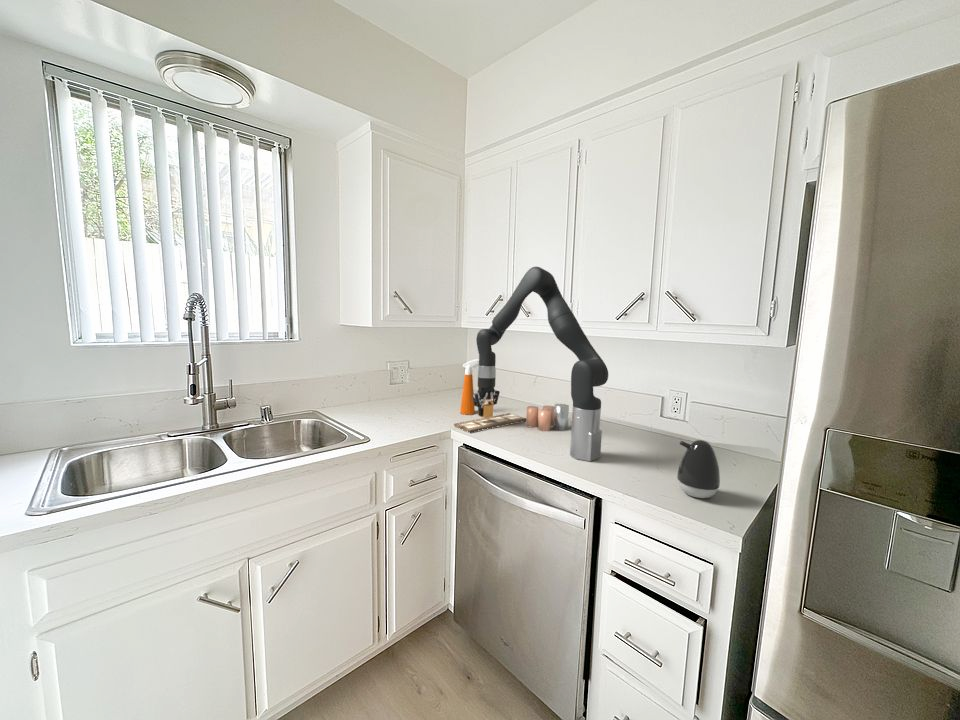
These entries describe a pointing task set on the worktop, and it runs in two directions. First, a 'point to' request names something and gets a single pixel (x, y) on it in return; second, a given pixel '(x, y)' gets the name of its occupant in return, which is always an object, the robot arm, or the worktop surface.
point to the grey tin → (561, 416)
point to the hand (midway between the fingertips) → (485, 415)
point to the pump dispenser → (699, 470)
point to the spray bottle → (468, 388)
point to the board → (489, 422)
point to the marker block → (487, 410)
